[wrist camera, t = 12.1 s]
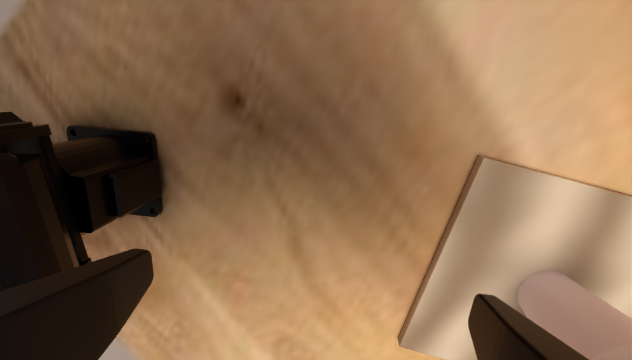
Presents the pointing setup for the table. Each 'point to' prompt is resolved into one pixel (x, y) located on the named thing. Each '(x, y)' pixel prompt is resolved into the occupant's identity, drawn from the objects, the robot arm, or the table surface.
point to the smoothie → (576, 316)
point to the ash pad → (519, 250)
